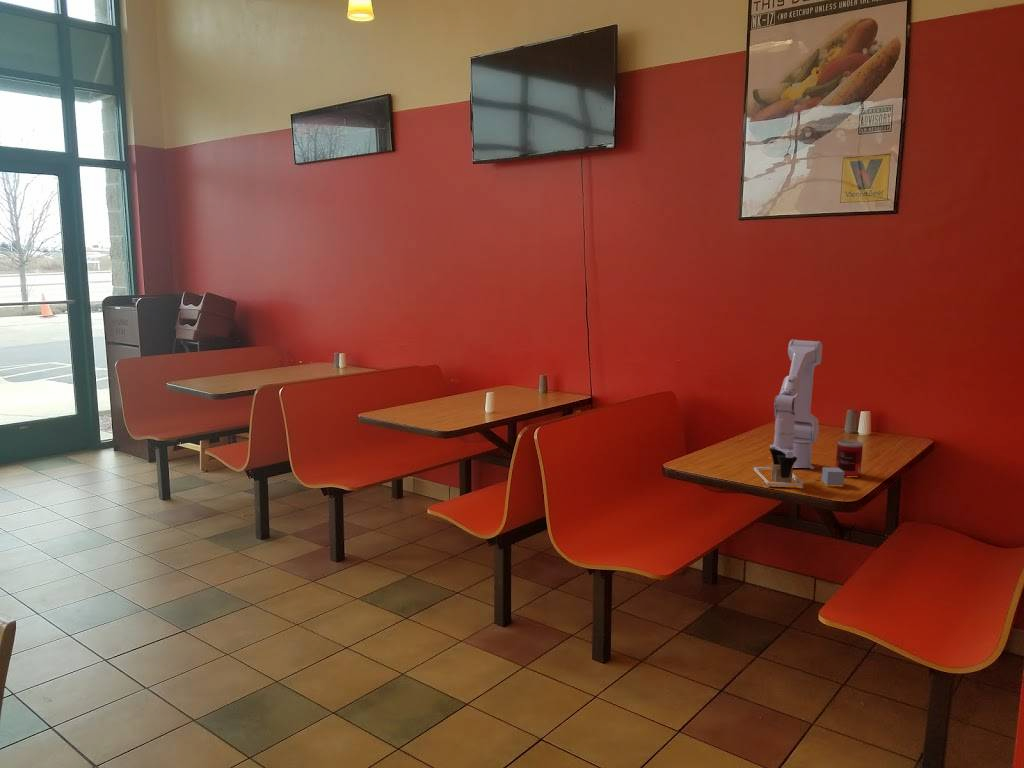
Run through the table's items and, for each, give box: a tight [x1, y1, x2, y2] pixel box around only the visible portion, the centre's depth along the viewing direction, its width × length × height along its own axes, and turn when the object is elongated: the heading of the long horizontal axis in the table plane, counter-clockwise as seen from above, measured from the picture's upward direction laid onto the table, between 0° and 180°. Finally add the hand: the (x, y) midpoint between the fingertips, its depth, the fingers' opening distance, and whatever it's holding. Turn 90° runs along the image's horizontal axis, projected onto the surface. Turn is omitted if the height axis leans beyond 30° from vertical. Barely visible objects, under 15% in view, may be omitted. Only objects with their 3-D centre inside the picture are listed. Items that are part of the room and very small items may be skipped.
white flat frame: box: [752, 466, 805, 488], centre depth 251 cm, size 18×11×2 cm, turn 176°
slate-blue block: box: [821, 466, 845, 486], centre depth 245 cm, size 5×5×5 cm
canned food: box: [835, 439, 864, 477], centre depth 256 cm, size 8×8×11 cm
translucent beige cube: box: [771, 464, 794, 483], centre depth 246 cm, size 5×5×5 cm
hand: (781, 474), depth 246 cm, fingers open, 7 cm apart
